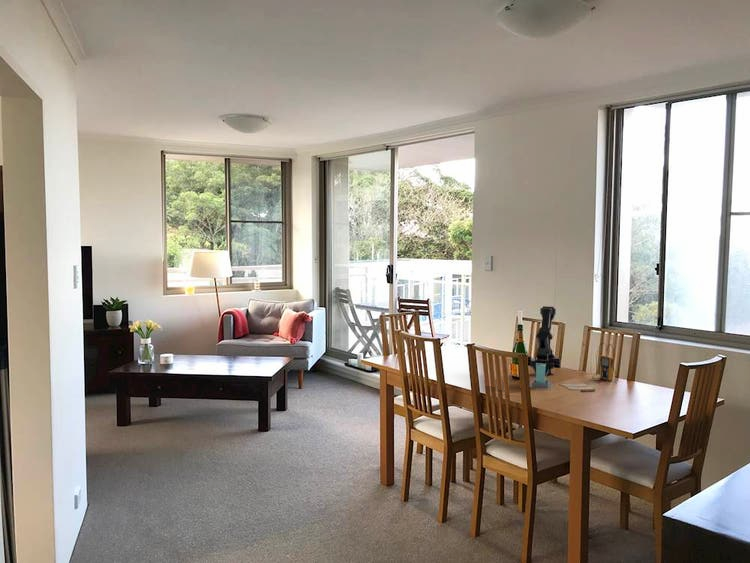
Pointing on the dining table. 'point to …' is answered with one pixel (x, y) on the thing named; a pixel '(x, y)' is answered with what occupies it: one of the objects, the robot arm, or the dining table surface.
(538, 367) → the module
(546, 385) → the case base
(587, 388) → the board
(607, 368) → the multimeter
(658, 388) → the dining table surface
